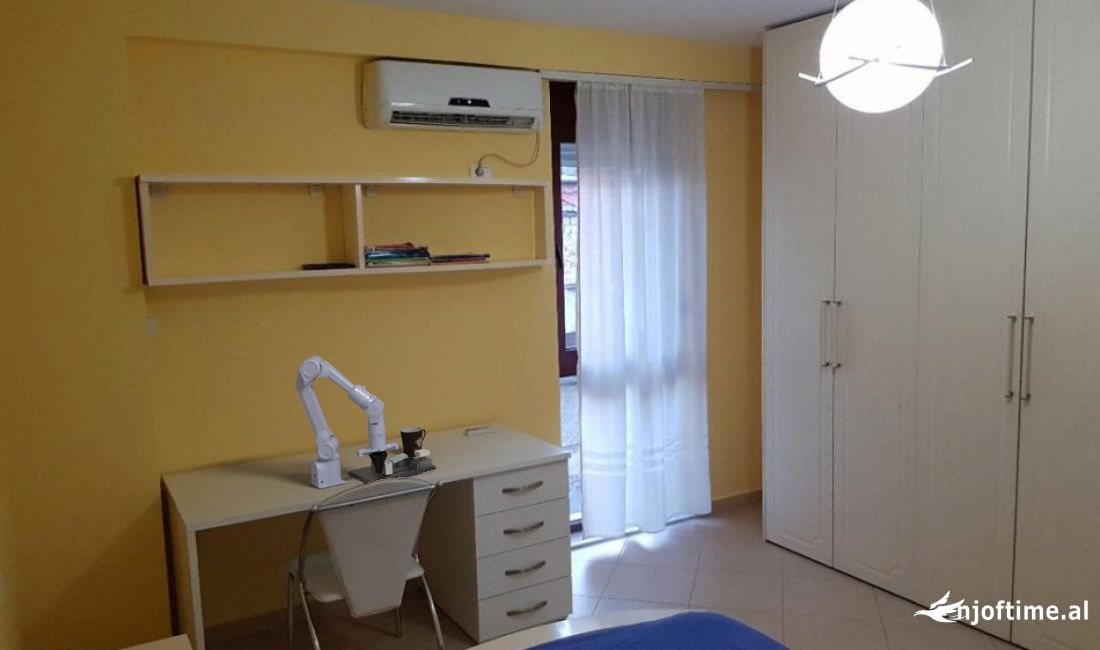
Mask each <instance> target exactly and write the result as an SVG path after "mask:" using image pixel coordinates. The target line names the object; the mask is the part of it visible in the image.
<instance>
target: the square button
mask: <svg viewBox="0 0 1100 650" xmlns="http://www.w3.org/2000/svg"><path fill="white" fill-rule="evenodd" d="M430 452H431V451H430V450H428V449H425V448H422V449H421V450H416V451H414V454H415V455H416V456H418V457H417V458H420V460H425V457H428V456H431V453H430Z"/></svg>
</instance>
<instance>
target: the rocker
mask: <svg viewBox="0 0 1100 650" xmlns="http://www.w3.org/2000/svg"><path fill="white" fill-rule="evenodd" d="M405 458H409V457H408V456H407V455H406V454H404V452H402V453H399V454H397V455H395V456H392V457H391V458H388V459H387V460H389V461H390V462H392V464H394V463H396V462H398V461H401V460H403V459H405Z"/></svg>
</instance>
